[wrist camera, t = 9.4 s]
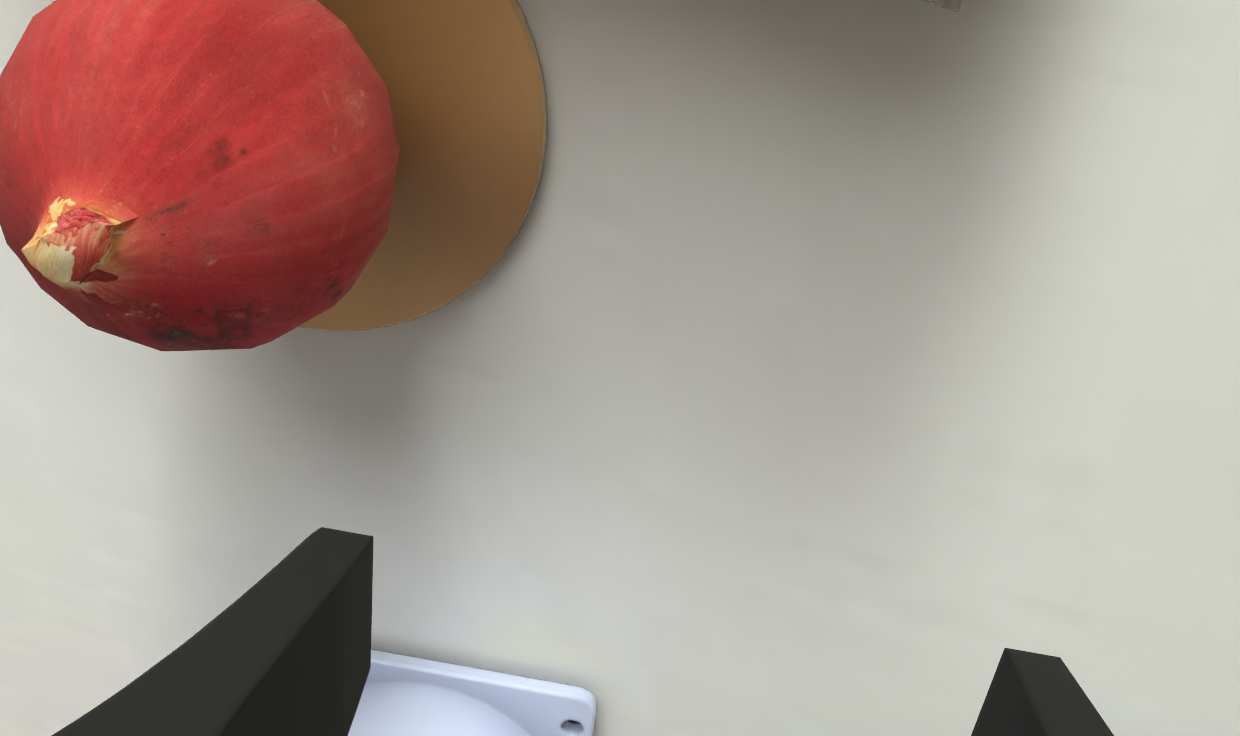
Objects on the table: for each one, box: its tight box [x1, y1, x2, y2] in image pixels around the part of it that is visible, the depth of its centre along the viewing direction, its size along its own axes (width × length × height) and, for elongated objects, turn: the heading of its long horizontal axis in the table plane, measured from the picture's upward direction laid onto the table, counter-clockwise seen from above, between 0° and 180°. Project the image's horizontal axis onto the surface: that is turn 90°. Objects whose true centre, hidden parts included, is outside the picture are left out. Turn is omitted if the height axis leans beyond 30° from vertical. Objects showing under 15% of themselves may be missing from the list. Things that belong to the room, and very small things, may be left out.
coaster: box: [299, 0, 547, 330], centre depth 22 cm, size 9×9×1 cm
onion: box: [0, 0, 400, 351], centre depth 18 cm, size 6×6×8 cm
